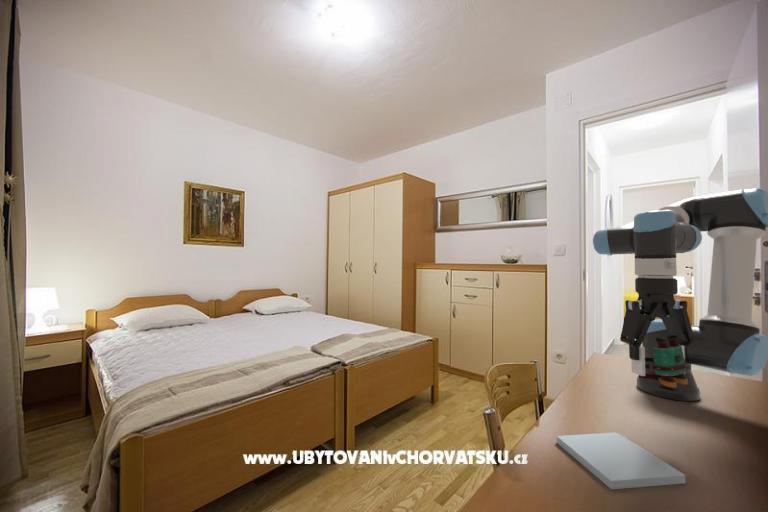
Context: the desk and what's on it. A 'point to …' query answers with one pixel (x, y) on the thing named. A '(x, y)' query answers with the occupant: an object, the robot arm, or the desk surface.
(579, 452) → the board
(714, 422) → the desk surface
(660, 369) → the binoculars
